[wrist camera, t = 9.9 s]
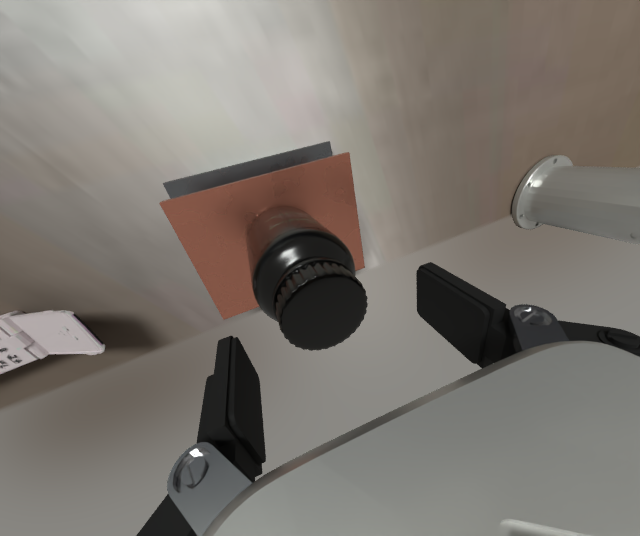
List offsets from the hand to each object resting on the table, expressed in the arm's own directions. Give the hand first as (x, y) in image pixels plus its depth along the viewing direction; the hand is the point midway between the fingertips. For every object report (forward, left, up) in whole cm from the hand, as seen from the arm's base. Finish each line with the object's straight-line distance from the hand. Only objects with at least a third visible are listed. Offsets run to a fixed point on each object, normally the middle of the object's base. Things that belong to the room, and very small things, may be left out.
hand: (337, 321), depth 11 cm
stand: (0, 0, -21) cm, 21 cm away
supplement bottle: (0, 0, -13) cm, 13 cm away
